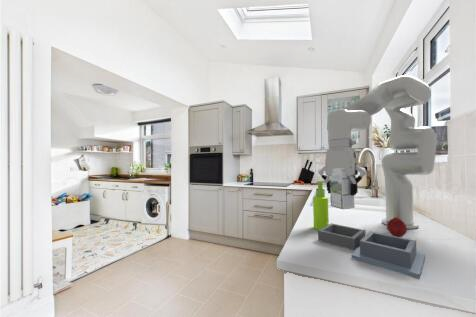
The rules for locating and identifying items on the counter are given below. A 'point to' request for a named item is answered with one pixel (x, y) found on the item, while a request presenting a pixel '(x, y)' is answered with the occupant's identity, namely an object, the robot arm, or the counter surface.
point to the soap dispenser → (320, 207)
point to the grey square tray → (341, 236)
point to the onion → (396, 227)
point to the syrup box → (341, 190)
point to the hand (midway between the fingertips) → (341, 193)
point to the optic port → (390, 253)
